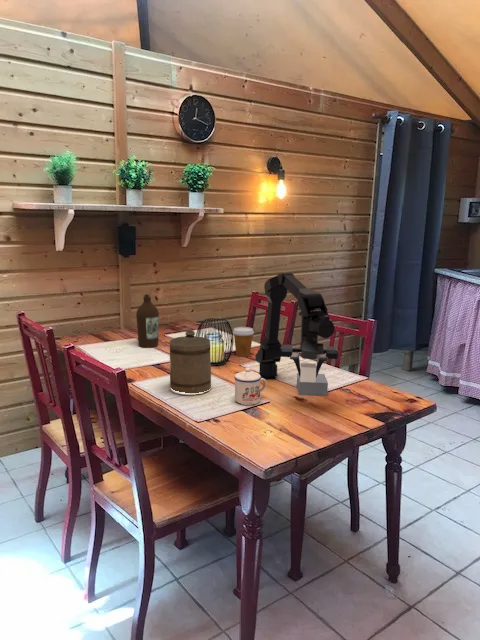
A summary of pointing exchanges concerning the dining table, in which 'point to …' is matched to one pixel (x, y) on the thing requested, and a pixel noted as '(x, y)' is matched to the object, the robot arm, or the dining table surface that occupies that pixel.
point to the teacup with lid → (248, 387)
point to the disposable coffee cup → (243, 340)
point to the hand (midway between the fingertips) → (307, 376)
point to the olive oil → (147, 323)
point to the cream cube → (308, 372)
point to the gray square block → (313, 386)
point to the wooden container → (190, 363)
